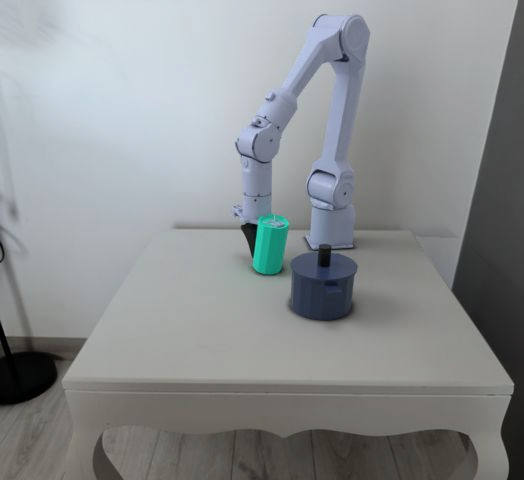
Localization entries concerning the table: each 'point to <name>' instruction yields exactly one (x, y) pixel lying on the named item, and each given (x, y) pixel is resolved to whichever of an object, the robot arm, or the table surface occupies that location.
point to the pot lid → (323, 265)
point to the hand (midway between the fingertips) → (257, 257)
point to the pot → (321, 298)
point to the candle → (270, 245)
